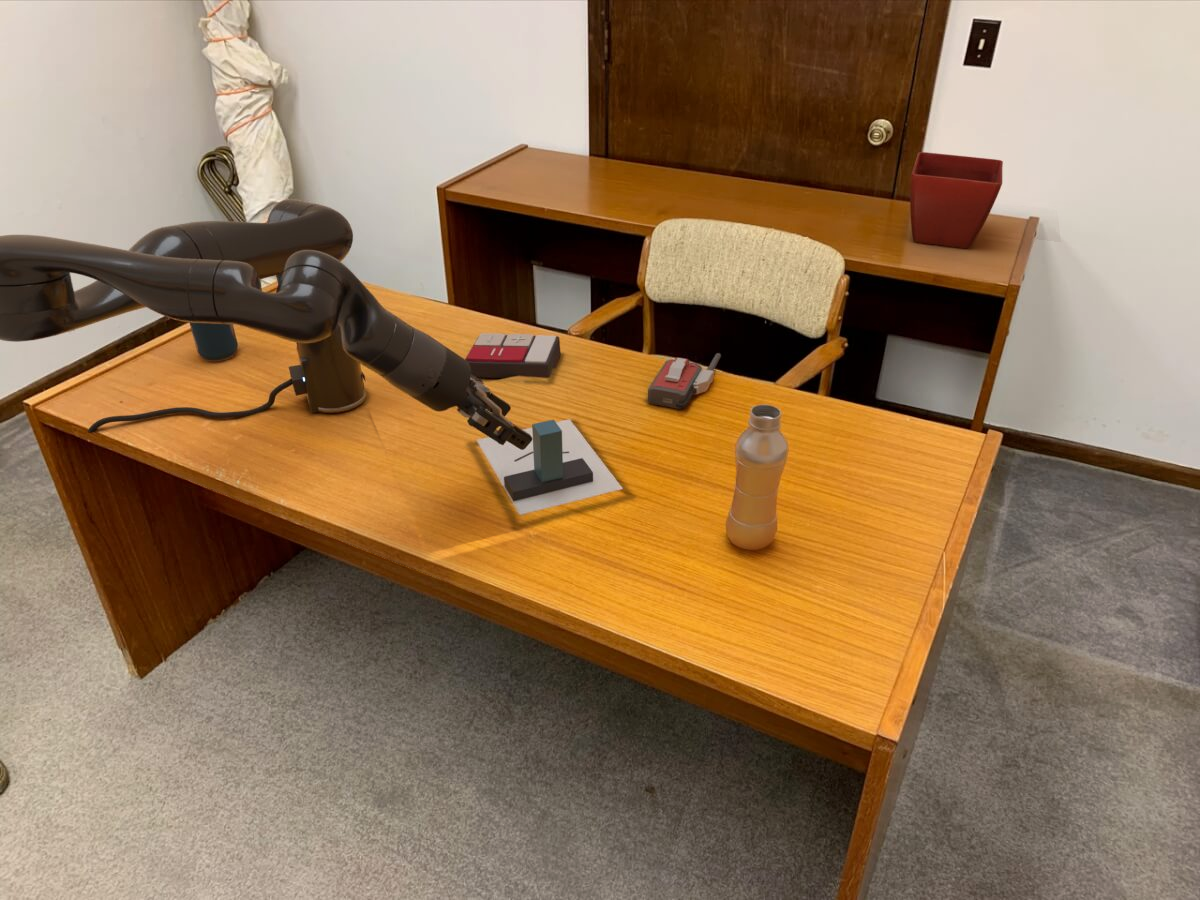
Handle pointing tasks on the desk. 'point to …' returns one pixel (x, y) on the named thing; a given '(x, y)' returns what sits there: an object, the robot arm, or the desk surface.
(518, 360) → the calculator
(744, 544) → the plastic bottle
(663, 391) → the walkie-talkie
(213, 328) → the soda can
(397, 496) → the desk surface
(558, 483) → the eraser
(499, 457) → the whiteboard
